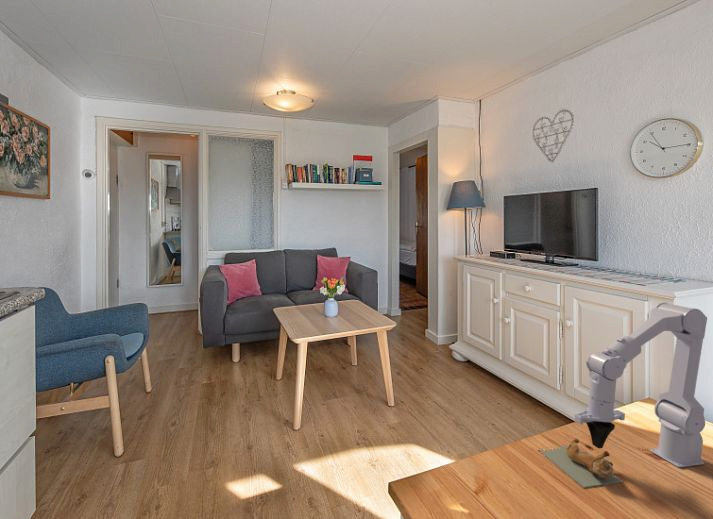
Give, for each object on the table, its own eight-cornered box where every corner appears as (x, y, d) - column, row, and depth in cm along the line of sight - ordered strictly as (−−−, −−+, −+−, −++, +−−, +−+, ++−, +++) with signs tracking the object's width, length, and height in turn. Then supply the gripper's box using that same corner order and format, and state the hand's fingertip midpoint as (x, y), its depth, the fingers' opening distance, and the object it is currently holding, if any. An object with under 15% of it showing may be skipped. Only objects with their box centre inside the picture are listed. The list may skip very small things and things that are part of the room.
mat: (572, 446, 108) (572, 445, 108) (623, 482, 92) (623, 481, 92) (537, 450, 105) (537, 448, 105) (583, 488, 90) (583, 486, 90)
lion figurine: (622, 451, 94) (603, 464, 90) (628, 472, 93) (608, 486, 89) (568, 435, 107) (548, 446, 103) (572, 454, 106) (553, 466, 102)
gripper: (610, 390, 104) (606, 435, 105) (567, 393, 101) (563, 440, 102) (633, 401, 98) (629, 450, 98) (588, 405, 94) (584, 455, 95)
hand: (597, 446), depth 100 cm, fingers closed, pressing on lion figurine
